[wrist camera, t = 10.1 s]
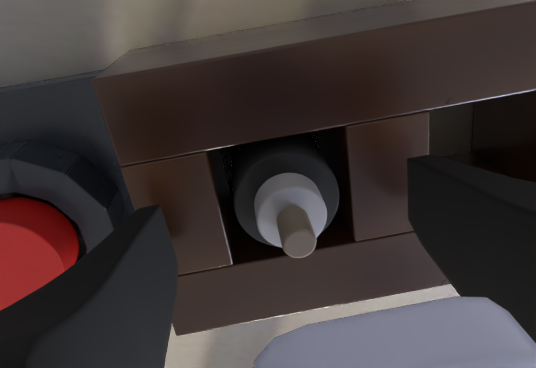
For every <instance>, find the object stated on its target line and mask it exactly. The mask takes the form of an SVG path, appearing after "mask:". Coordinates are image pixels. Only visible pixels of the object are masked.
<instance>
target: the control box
mask: <svg viewBox="0 0 536 368" xmlns="http://www.w3.org/2000/svg"><path fill="white" fill-rule="evenodd" d="M105 70H106V69H105ZM103 71H104V70H99V71H94V72H88V73H82V74H77V75H71V76H66V77H60V78H54V79H49V80H43V81H38V82H32V83H26V84H21V85H15V86H10V87H4V88H0V200H1V199H5V198H12V197H23V198H30V199H35V200H38V201H42V202H44V203H46V204H49V205H50V206H52V207H54V208H56V209H57V210H58V211H60V212H61V213H62V214H63V215H65V216H66V217H67V219H68V220H69V221H70V222H71V223H72V225H73V226H74V228H75V230H76V232H77V235H78V238H79V244H80V250H79V255H78V258H77V261H76V262H78V261H79V260H80V259H81V258H82V257H84V256H85V255H86V254H87V253H88V252H90V251H91V250H92V249H93V248H94V247H96V246H97V245H98V244H99V243H100V242H102V241H103V240H104V239H105V238H106V237H107V236H108V235H109V234H110V233H111V232H112V231H114V230H115V229H116V228H117V227H118V226H119V225H120V224H121V223H122V222H123V221H124V220H125V219H127V218H128V217H129V216H130V215H131V214H132V213H133V212H135V210H134V207H133V204H132V201H131V198H130V195H129V192H128V190H127V187H126V184H125V181H124V178H123V175H122V172H121V166H120V164H119V162H118V159H117V156H116V153H115V150H114V147H113V144H112V141H111V138H110V135H109V132H108V129H107V126H106V123H105V120H104V117H103V114H102V111H101V108H100V105H99V102H98V99H97V96H96V93H95V90H94V87H93V84H92V80H93V79H94V78H96V77H97V76H98V75H99V74H101V73H102V72H103Z"/></svg>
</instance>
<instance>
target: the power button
mask: <svg viewBox="0 0 536 368" xmlns="http://www.w3.org/2000/svg"><path fill="white" fill-rule="evenodd" d="M79 250H80V244H79V238H78V235H77V232H76V230H75V228H74V226H73V225H72V223H71V222H70V221H69V220H68V219H67V217H66V216H65V215H63V214H62V213H61V212H60V211H58V210H57V209H56V208H54V207H52V206H50V205H49V204H46V203H44V202H42V201H38V200H35V199H30V198H23V197H12V198H5V199H1V200H0V310H2V309H4V308H6V307H8V306H10V305H12V304H13V303H15V302H17V301H18V300H20V299H22V298H24V297H25V296H27V295H29V294H30V293H32V292H34V291H36V290H37V289H39V288H41V287H42V286H44V285H45V284H47V283H48V282H50V281H51V280H53V279H54V278H56V277H57V276H59V275H60V274H62V273H63V272H64V271H66V270H67V269H68V268H70V267H71V266H72V265H74V264H75V263H76V261H77V258H78V255H79Z"/></svg>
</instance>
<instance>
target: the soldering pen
mask: <svg viewBox="0 0 536 368" xmlns="http://www.w3.org/2000/svg"><path fill="white" fill-rule="evenodd" d="M231 163H232V181H233V198H234V209H235V214H236V217H237V219H238V221H239V223H240V225H241V226H242V228H243V229H244V230H245V231H246V232H247V233H248V234H249V235H250V236H252V237H253V238H255V239H256V240H258V241H260V242H262V243H265V244H268V245H273V246H278V247H282V248H283V250H284V252H285V253H286V254H287V255H289V256H291V257H293V258H303V257H306V256H308V255H309V254H311V253H312V252H313V251H314V249H315V247H316V244H317V239H316V238H317V237H318V235H319V234H320V233H321V232H323V231H324V230H325V229H326V228H327V227H328V225H329V224H330V223H331V221H332V219H333V218H334V216H335V213H336V211H337V208H338V204H339V188H338V184H337V181H336V178H335V176H334V174H333V173H332V171H331V169H330V167H329V166H328V164H327V162H326V160H325V159H324V157H323V155H322V153H321V152H320V150H319V148H318V146H317V144H316V143H315V141H314V139H313V137H312V136H311V134H310V132H306V133H301V134H295V135H290V136H285V137H279V138H274V139H268V140H263V141H257V142H252V143H246V144H241V145H235V146H231Z"/></svg>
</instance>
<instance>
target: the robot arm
mask: <svg viewBox="0 0 536 368" xmlns="http://www.w3.org/2000/svg"><path fill="white" fill-rule="evenodd" d="M407 185H408V220H409V222H410V224H411V226H412V228H413V230H414V232H415V234H416V235H417V237H418V239H419V241H420V243H421V244H422V246H423V247H424V249H425V250H426V252H427V253H428V254H429V256H430V257H431V258H432V260H433V261H434V262H435V264H436V265H437V266H438V268H439V269H440V270H441V271H442V273H443V274H444V275H445V277H446V278H447V279H448V281H449V282H450V283H451V285H452V286H453V287H454V288H455V290H456V291H457V292H458V294H459V295H460V296H461V297H449V298H444V299H439V300H433V301H428V302H423V303H418V304H413V305H407V306H402V307H397V308H392V309H386V310H381V311H376V312H371V313H366V314H360V315H355V316H350V317H345V318H339V319H334V320H329V321H324V322H319V323H313V324H308V325H305V326H303V327H300V328H298V329H295V330H293V331H290V332H288V333H285V334H283V335H281V336H278V337H276V338H274V339H273V340H272V341H271V342H270V343H269V345H268V346H267V347H266V348H265V349H264V350H263V351H262V352H261V353H260V354H259V356H258V357H257V358H256V359H255V360H254V365H253V368H536V183H535V182H530V181H525V180H521V179H517V178H513V177H509V176H505V175H501V174H497V173H494V172H490V171H486V170H483V169H480V168H476V167H473V166H470V165H466V164H463V163H460V162H456V161H453V160H449V159H446V158H442V157H438V156H433V155H424V156H418V157H413V158H408V159H407ZM177 288H178V260H177V257H176V254H175V250H174V247H173V244H172V241H171V237H170V234H169V231H168V227H167V224H166V221H165V217H164V214H163V211H162V208H161V204H159V205H153V206H148V207H143V208H139V209H137V210H136V211H135V212H133V213H132V214H131V215H130V216H129V217H128V218H127V219H125V220H124V221H123V222H122V223H121V224H120V225H119V226H118V227H117V228H116V229H115V230H114V231H112V232H111V233H110V234H109V235H108V236H107V237H106V238H105V239H104V240H103V241H102V242H100V243H99V244H98V245H97V246H96V247H94V248H93V249H92V250H91V251H90V252H88V253H87V254H86V255H85V256H84V257H82V258H81V259H80V260H79V261H78V262H76V263H75V264H74V265H72V266H71V267H70V268H68V269H67V270H66V271H64V272H63V273H62V274H60V275H59V276H57V277H56V278H54V279H53V280H51V281H50V282H48V283H47V284H45V285H44V286H42V287H41V288H39V289H37V290H36V291H34V292H32V293H30V294H29V295H27V296H25V297H24V298H22V299H20V300H18V301H17V302H15V303H13V304H12V305H10V306H8V307H6V308H4V309H2V310H0V368H164V365H165V358H166V352H167V347H168V341H169V336H170V330H171V325H172V320H173V314H174V308H175V303H176V297H177Z"/></svg>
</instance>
